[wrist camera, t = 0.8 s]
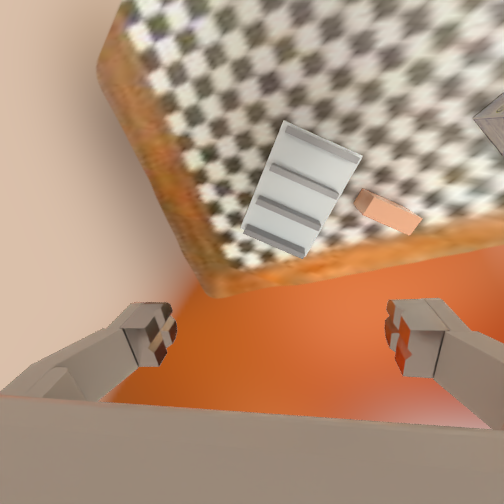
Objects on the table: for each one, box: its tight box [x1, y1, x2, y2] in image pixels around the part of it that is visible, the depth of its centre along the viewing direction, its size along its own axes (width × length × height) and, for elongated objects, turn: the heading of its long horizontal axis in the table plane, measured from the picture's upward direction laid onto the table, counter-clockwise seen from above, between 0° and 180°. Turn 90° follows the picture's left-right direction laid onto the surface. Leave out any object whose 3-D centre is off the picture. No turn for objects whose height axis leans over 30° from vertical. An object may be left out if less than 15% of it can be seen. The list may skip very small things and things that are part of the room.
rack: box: [241, 120, 363, 259], centre depth 43 cm, size 20×14×4 cm
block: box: [353, 188, 422, 236], centre depth 41 cm, size 3×8×7 cm, turn 68°
